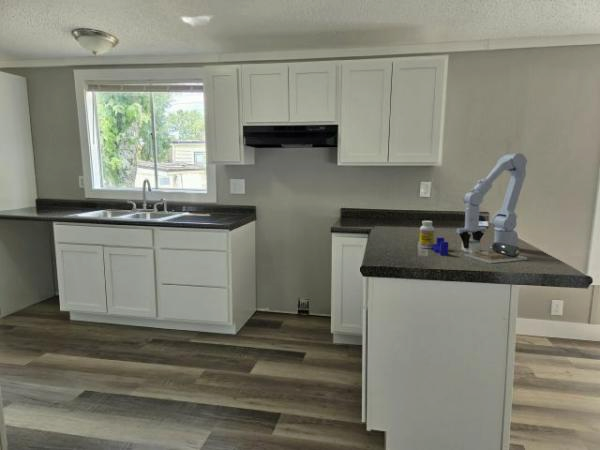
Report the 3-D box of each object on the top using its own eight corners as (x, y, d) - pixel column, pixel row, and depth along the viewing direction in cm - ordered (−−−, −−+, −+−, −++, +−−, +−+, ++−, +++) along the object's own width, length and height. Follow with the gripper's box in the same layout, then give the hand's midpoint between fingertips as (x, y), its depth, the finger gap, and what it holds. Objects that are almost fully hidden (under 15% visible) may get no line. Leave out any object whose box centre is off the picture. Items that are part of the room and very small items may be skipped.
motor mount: (498, 252, 179) (498, 240, 178) (527, 259, 164) (527, 247, 163) (464, 255, 174) (464, 243, 174) (490, 263, 159) (491, 250, 158)
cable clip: (433, 250, 187) (433, 237, 186) (443, 250, 186) (443, 237, 186) (437, 255, 176) (437, 242, 175) (447, 255, 175) (448, 242, 174)
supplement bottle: (418, 248, 191) (419, 221, 189) (419, 245, 197) (420, 220, 196) (433, 249, 189) (434, 222, 187) (434, 246, 195) (434, 220, 193)
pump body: (469, 249, 187) (469, 238, 187) (480, 252, 181) (480, 241, 180) (461, 249, 186) (461, 239, 185) (471, 252, 179) (472, 241, 179)
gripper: (479, 216, 187) (477, 245, 189) (452, 218, 183) (451, 247, 185) (490, 218, 180) (488, 247, 182) (462, 220, 176) (461, 250, 178)
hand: (470, 247), depth 183 cm, fingers closed on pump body, 4 cm apart
